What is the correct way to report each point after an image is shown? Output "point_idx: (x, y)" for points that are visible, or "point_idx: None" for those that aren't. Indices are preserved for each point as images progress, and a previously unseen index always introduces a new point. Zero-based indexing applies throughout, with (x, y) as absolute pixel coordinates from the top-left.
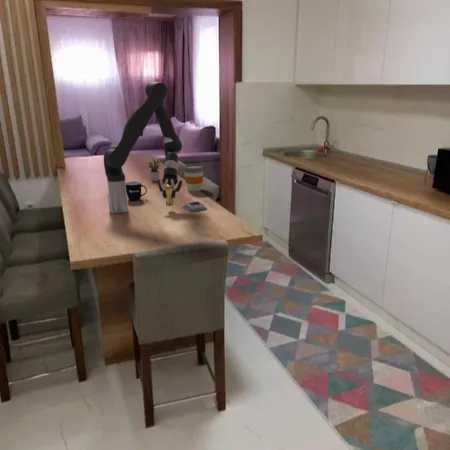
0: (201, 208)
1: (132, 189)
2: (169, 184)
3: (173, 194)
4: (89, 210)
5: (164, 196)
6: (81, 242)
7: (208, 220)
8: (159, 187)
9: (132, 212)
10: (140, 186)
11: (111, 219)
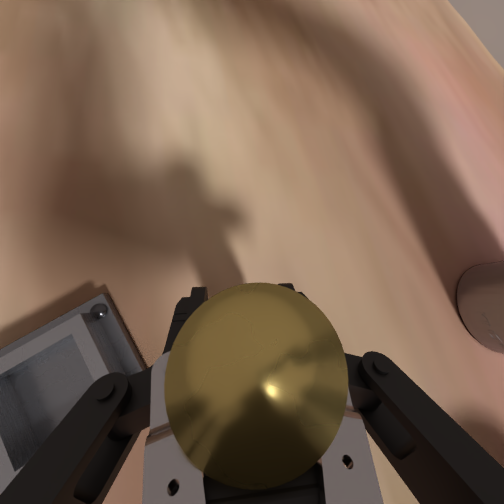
0: (15, 346)
1: None
2: (259, 472)
3: (190, 302)
4: None
5: (282, 283)
6: (433, 6)
7: (10, 145)
8: (409, 383)
9: (425, 286)
10: None
11: (462, 187)
